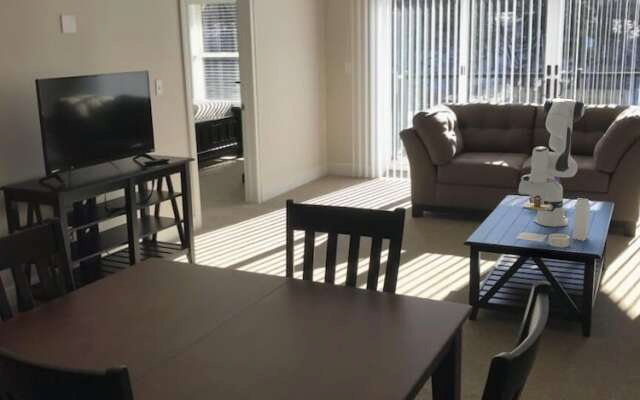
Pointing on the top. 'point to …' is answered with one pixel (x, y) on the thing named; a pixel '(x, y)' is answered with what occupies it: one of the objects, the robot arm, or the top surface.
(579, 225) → the milk
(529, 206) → the lid
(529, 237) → the mat
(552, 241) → the bowl
